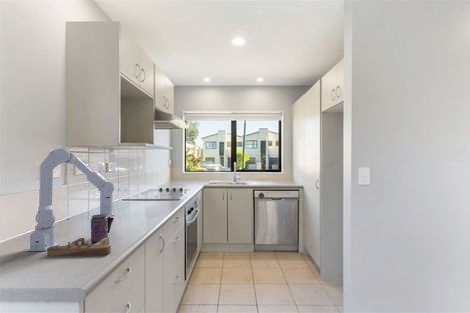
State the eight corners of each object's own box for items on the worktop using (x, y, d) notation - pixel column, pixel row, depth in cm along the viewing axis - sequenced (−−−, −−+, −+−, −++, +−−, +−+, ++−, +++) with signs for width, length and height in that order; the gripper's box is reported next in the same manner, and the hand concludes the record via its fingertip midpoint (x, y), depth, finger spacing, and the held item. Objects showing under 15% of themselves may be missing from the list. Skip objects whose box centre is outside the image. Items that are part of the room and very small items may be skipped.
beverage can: (103, 238, 141) (102, 213, 141) (110, 240, 137) (110, 215, 137) (88, 241, 136) (88, 215, 136) (95, 244, 131) (95, 217, 131)
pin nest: (107, 255, 117) (107, 242, 117) (47, 256, 116) (47, 243, 116) (121, 244, 131) (121, 232, 131) (67, 244, 131) (67, 233, 131)
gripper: (108, 208, 137) (108, 237, 137) (120, 203, 151) (120, 229, 152) (93, 208, 137) (93, 237, 137) (106, 203, 151) (106, 229, 151)
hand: (106, 233), depth 144 cm, fingers closed
